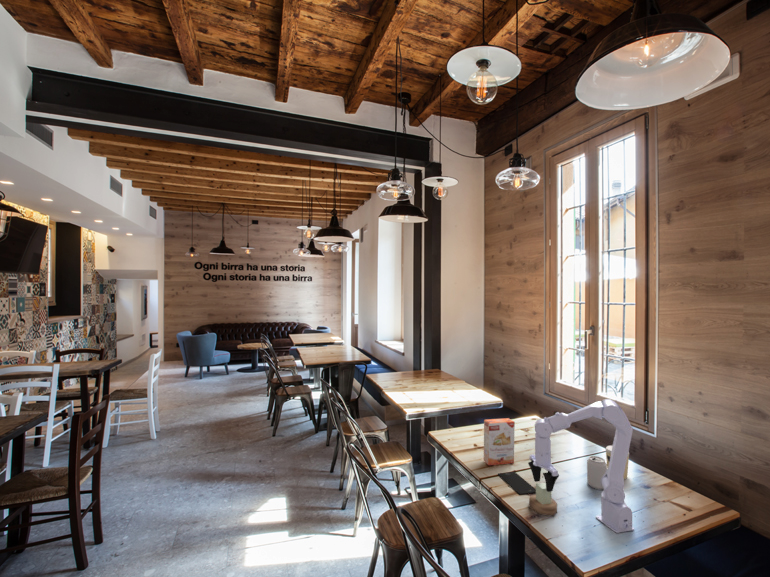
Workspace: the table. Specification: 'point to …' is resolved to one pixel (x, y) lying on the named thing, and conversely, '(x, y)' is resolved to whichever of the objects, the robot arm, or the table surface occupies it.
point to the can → (596, 471)
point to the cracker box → (499, 441)
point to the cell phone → (517, 483)
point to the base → (542, 506)
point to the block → (543, 494)
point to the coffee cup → (608, 455)
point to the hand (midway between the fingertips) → (543, 486)
